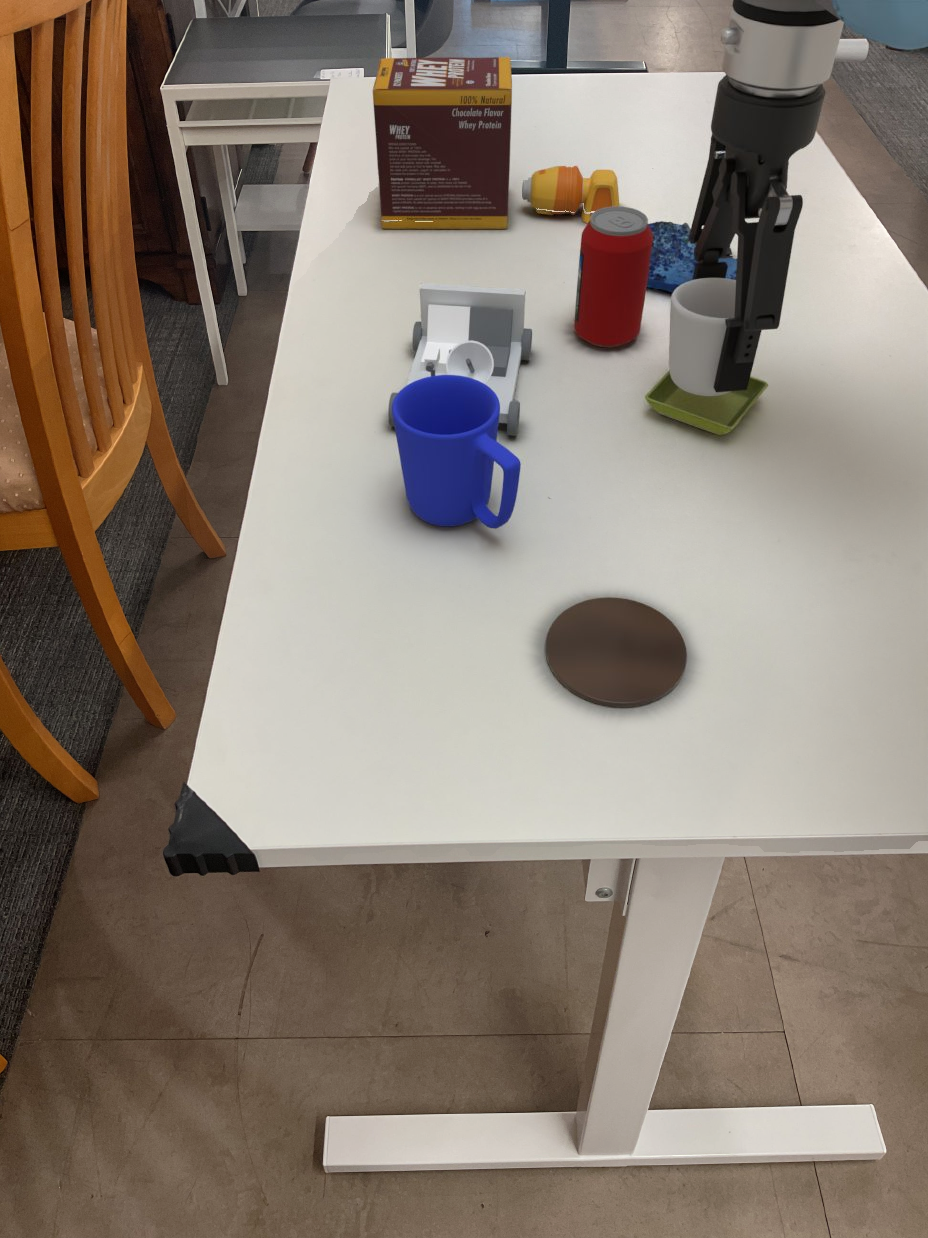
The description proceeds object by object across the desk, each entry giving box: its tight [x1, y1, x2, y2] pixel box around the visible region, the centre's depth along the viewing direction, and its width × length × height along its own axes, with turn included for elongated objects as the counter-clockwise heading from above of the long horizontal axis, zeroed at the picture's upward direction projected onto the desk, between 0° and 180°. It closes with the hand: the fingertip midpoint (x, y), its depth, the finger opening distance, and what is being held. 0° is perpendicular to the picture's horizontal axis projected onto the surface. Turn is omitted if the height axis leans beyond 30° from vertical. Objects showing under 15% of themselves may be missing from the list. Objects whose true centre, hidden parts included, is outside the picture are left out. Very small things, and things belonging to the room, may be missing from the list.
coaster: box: [545, 596, 688, 708], centre depth 67 cm, size 10×10×1 cm
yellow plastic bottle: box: [521, 165, 620, 224], centre depth 113 cm, size 5×6×12 cm
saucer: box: [644, 370, 769, 436], centre depth 86 cm, size 9×9×2 cm
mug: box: [392, 375, 522, 529], centre depth 74 cm, size 8×12×10 cm
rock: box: [646, 220, 737, 293], centre depth 104 cm, size 15×17×2 cm
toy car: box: [387, 283, 533, 436], centre depth 85 cm, size 18×10×12 cm
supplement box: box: [372, 56, 513, 230], centre depth 110 cm, size 10×15×16 cm
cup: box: [668, 278, 736, 396], centre depth 82 cm, size 11×8×8 cm
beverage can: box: [573, 205, 653, 348], centre depth 92 cm, size 7×7×12 cm
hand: (713, 359), depth 83 cm, fingers closed on cup, 8 cm apart
